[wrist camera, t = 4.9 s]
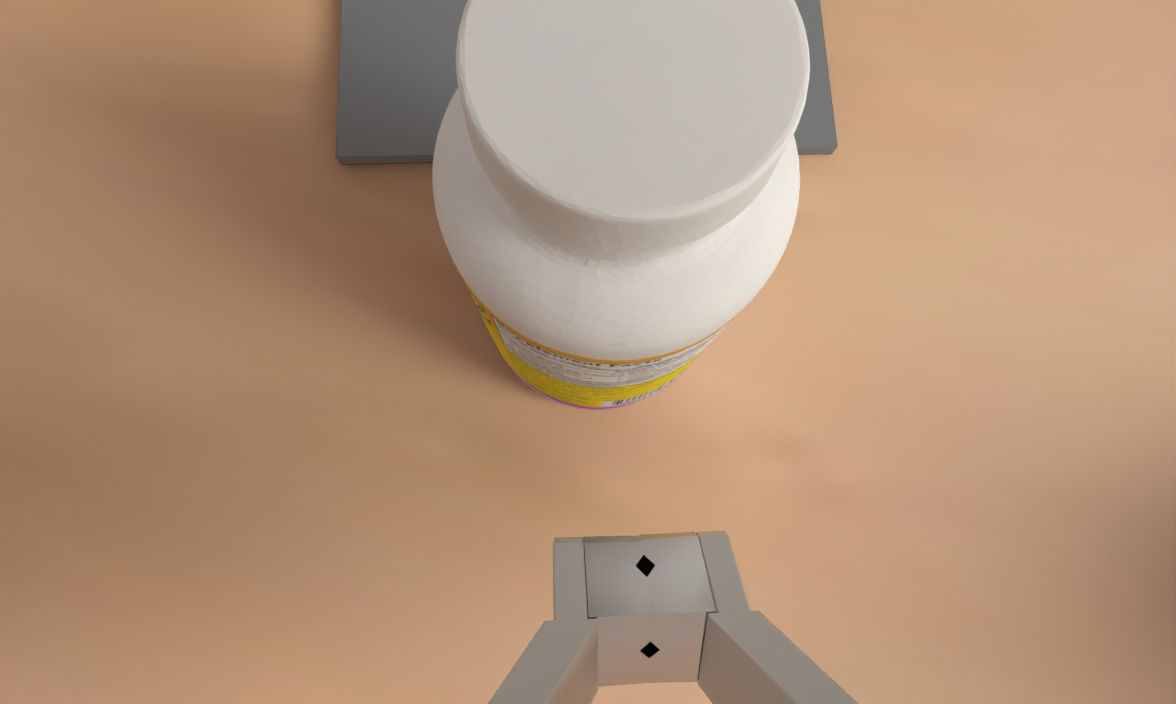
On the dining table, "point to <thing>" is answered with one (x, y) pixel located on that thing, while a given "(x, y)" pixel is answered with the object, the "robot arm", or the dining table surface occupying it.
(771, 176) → the supplement bottle
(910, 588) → the dining table surface
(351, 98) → the mat
